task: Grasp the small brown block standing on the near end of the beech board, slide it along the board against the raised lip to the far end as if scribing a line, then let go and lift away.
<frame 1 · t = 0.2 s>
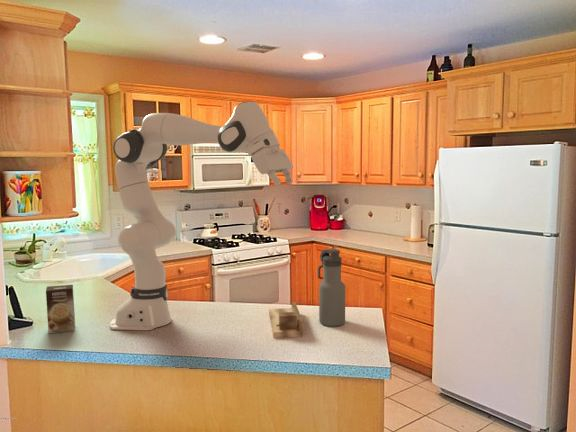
hand: (284, 183, 162), 54 cm above the worktop, tool tilted 30°, fingers open, 8 cm apart
water bottle: (331, 322, 188), on the worktop
coffee box: (62, 330, 184), on the worktop
brown block: (287, 327, 177), point 2 cm above the worktop, touching board
board: (284, 324, 186), on the worktop
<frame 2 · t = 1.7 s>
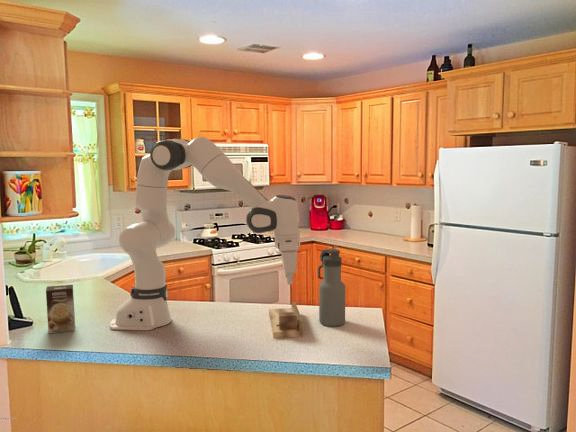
hand: (289, 280, 174), 19 cm above the worktop, tool pointing down, fingers open, 8 cm apart
nothing on the worktop moved.
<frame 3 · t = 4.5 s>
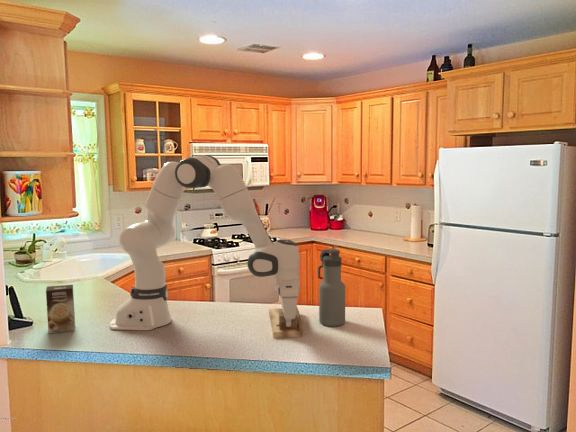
hand: (287, 323, 177), 4 cm above the worktop, tool pointing down, fingers closed on brown block, 4 cm apart
brown block: (287, 327, 177), point 2 cm above the worktop, touching board, gripper
everything else where it was.
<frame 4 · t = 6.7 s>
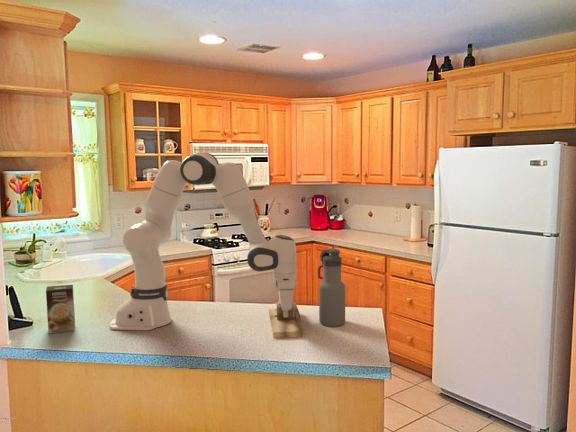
hand: (284, 314, 187), 3 cm above the worktop, tool pointing down, fingers closed on brown block, 4 cm apart
brown block: (285, 318, 187), point 2 cm above the worktop, touching gripper
everything else where it was.
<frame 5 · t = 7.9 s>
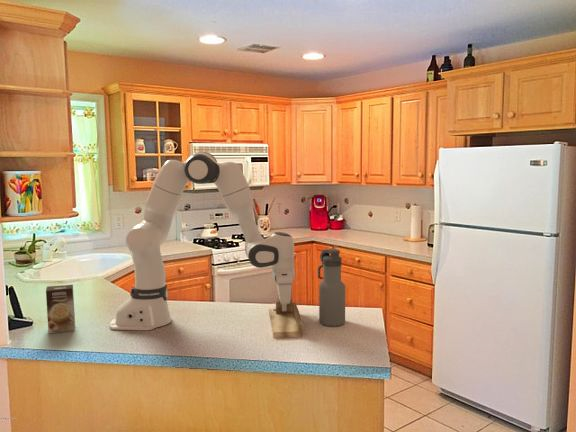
hand: (283, 308, 194), 4 cm above the worktop, tool pointing down, fingers closed on brown block, 4 cm apart
brown block: (283, 312, 194), point 2 cm above the worktop, touching gripper
everything else where it was.
when the fingers open (4 cm above the worktop, at t = 9.2 s): brown block stays where it is, resting on board.
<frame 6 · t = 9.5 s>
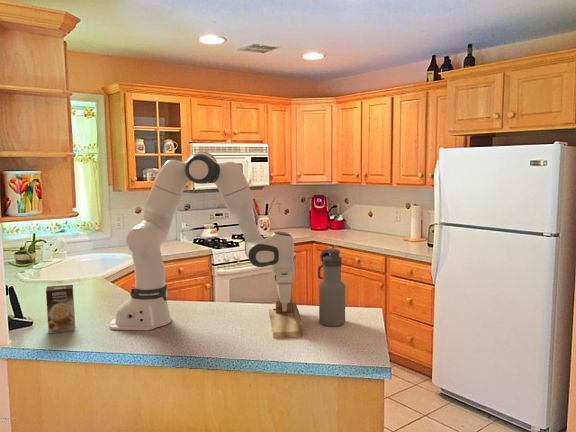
hand: (283, 307, 195), 4 cm above the worktop, tool pointing down, fingers open, 6 cm apart
brown block: (283, 311, 195), point 2 cm above the worktop, touching board
everything else where it was.
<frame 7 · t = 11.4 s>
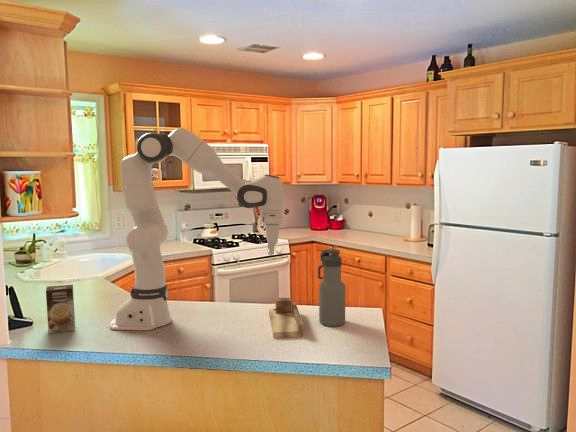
hand: (270, 251, 195), 25 cm above the worktop, tool pointing down, fingers open, 8 cm apart
nothing on the worktop moved.
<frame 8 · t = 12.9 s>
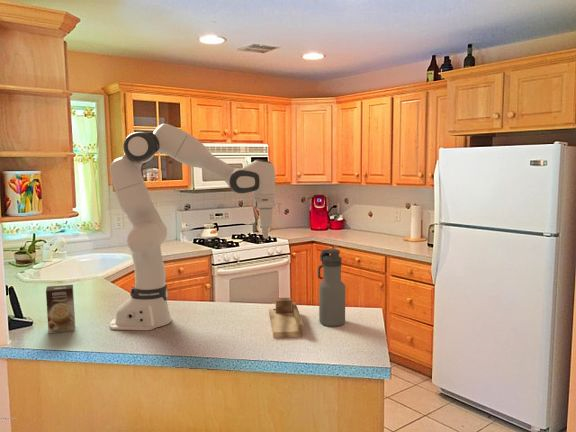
hand: (265, 236, 196), 31 cm above the worktop, tool pointing down, fingers open, 8 cm apart
nothing on the worktop moved.
at the end: brown block inside the target area (0.4 cm from its centre), point 2.0 cm above the worktop; brown block tilted 0°; the gripper is holding nothing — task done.
